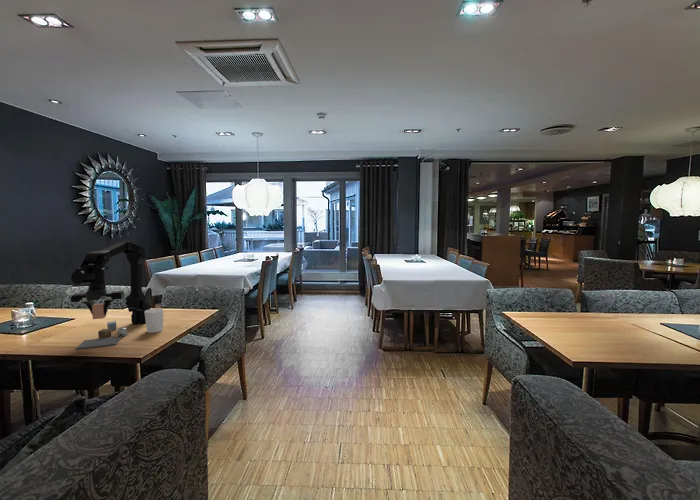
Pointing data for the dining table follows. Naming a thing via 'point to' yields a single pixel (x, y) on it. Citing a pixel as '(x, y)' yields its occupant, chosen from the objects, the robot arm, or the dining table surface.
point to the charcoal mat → (99, 342)
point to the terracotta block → (98, 311)
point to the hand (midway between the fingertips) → (99, 315)
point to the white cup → (154, 320)
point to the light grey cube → (122, 331)
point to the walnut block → (104, 333)
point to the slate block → (111, 325)
